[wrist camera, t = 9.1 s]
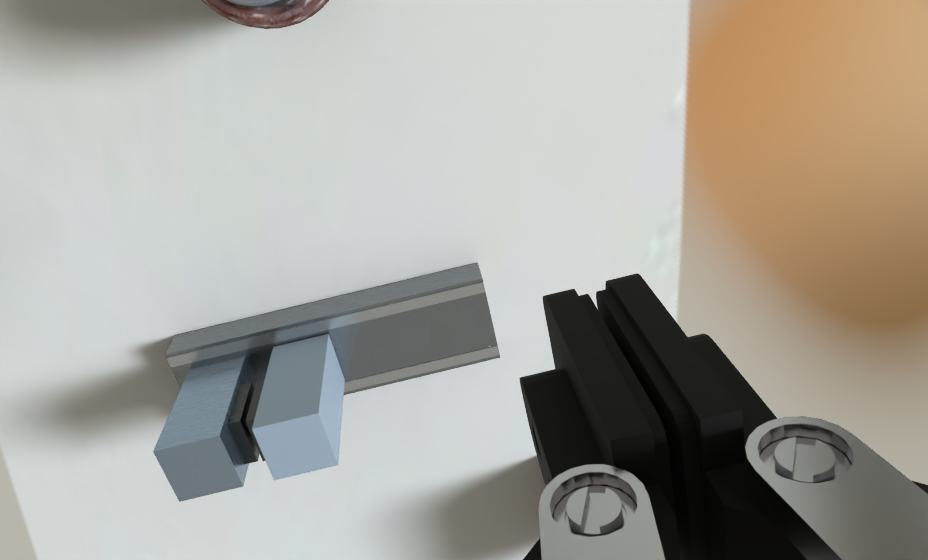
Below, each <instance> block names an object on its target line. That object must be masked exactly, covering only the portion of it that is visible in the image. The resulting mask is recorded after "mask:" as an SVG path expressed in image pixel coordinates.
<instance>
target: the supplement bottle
mask: <svg viewBox="0 0 928 560" xmlns="http://www.w3.org/2000/svg"><path fill="white" fill-rule="evenodd" d="M202 1H203V2H204V3H205V4H207V5H208V6H209V7H211V8H212V9H213V10H214V11H216V12H217V13H219V14H221V15H222V16H224V17H226V18H228V19H230V20H232V21H234V22H236V23H238V24H242V25H246V26H249V27H256V28H264V29H269V28H272V29H273V28H282V27H287V26H291V25H294V24H297V23H300V22H302V21H304V20H306V19H308V18H309V17H311V16H313V15H314V14H315V13H317V12H318V11H319V10H320V9H321V8H323V7H324V5H325V4H326V3H327V2H328V1H329V0H202Z"/></svg>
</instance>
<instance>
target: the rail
mask: <svg viewBox="0 0 928 560" xmlns="http://www.w3.org/2000/svg"><path fill="white" fill-rule="evenodd" d="M325 334H329V336H330V339H331V342H332V345H333V347H334V350H335V353H336V356H337V359H338V362H339V365H340V368H341V370H342V373H343V376H344V379H345V383H344V395H346V394H350V393H354V392H358V391H362V390H367V389H371V388H375V387H379V386H383V385H387V384H392V383H396V382H400V381H404V380H408V379H412V378H417V377H421V376H425V375H429V374H433V373H437V372H442V371H446V370H450V369H454V368H458V367H462V366H467V365H471V364H475V363H479V362H483V361H487V360H491V359H496V358H500V355H499V350H498V346H497V341H496V337H495V333H494V328H493V324H492V319H491V315H490V310H489V306H488V302H487V297H486V293H485V288H484V284H483V280H482V276H481V273H480V269H479V266H478V263H474V264H470V265H466V266H462V267H458V268H453V269H449V270H445V271H441V272H437V273H433V274H428V275H424V276H420V277H416V278H412V279H408V280H403V281H399V282H395V283H391V284H387V285H383V286H378V287H374V288H370V289H366V290H362V291H358V292H353V293H349V294H345V295H341V296H337V297H333V298H328V299H324V300H320V301H316V302H312V303H308V304H304V305H299V306H295V307H291V308H287V309H283V310H279V311H274V312H270V313H266V314H262V315H258V316H254V317H249V318H245V319H241V320H237V321H233V322H229V323H224V324H220V325H216V326H212V327H208V328H204V329H199V330H195V331H191V332H187V333H183V334H179V335H175V336H174V338H173V340H172V342H171V344H170V346H169V348H168V350H167V352H166V354H165V356H166V359H167V361H168V363H169V365H170V367H171V368H172V370H173V373H174V375H175V377H176V379H177V381H178V383H179V385H180V387H181V389H180V392H179V394H178V396H177V399H176V401H175V403H174V405H173V408H172V410H171V412H170V414H169V417H168V419H167V421H166V424H165V426H164V428H163V430H162V433H161V435H160V437H159V439H158V442H157V444H156V446H155V449H154V451H153V452H154V454H155V456H156V458H157V460H158V462H159V464H160V465H161V467H162V469H163V471H164V473H165V475H166V477H167V479H168V481H169V483H170V485H171V486H172V488H173V490H174V492H175V494H176V496H177V498H178V500H179V502H180V501H184V500H188V499H193V498H197V497H201V496H205V495H209V494H213V493H217V492H222V491H226V490H230V489H234V488H238V487H242V486H243V485H244V481H245V477H246V473H247V469H248V465H249V463H252V462H256V461H258V458H259V451H258V448H257V446H256V444H255V442H254V439H253V437H252V435H251V432H250V430H249V428H248V426H247V423H246V417H247V414H248V410H249V407H250V403H251V399H252V396H253V392H254V389H255V385H256V382H258V381H262V380H265V377H266V373H267V369H268V365H269V361H270V357H271V354H272V350H273V347H275V346H279V345H284V344H288V343H292V342H296V341H300V340H304V339H308V338H313V337H317V336H321V335H325Z"/></svg>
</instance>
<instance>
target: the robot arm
mask: <svg viewBox="0 0 928 560" xmlns="http://www.w3.org/2000/svg"><path fill="white" fill-rule="evenodd" d="M596 299H597V306H598V310H597V308H596V306H595V305H594V303H593V301H592V299H591V298H590V296H589V295H588V294H585V295H581V296H578V294H577V293H576V291H575V289H571V290H567V291H563V292H558V293H554V294H550V295H546V296H543V304H544V310H545V315H546V320H547V326H548V331H549V337H550V342H551V347H552V353H553V358H554V363H555V369H554V370H550V371H546V372H542V373H538V374H534V375H530V376H525V377H521V378H520V384H521V389H522V394H523V399H524V403H525V408H526V413H527V417H528V422H529V426H530V430H531V434H532V438H533V442H534V446H535V450H536V453H537V457H538V460H539V464H540V467H541V471H542V474H543V477H544V481H545V484H546V487H545V489H544V491H543V493H542V494H541V496H540V501H539V508H538V513H539V527H540V539H539V540H538V541H537V543H536V544H535V545H534V546H533V548H532V549H531V550H530V552H529V553H528V554H527V555H526V557H525V558H524V559H523V560H928V485H925V484H921V483H918V482H914V481H911V480H910V479H908V478H907V477H906V476H905V475H903V474H902V473H901V472H900V471H898V470H897V469H896V468H895V467H893V466H892V465H891V464H890V463H888V462H887V461H886V460H885V459H883V458H882V457H881V456H880V455H878V454H877V453H876V452H875V451H873V450H872V449H871V448H870V447H868V446H867V445H866V444H865V443H863V442H862V441H861V440H860V439H858V438H857V437H856V436H855V435H853V434H852V433H850V432H849V431H847V430H845V429H844V428H842V427H840V426H839V425H836V424H834V423H831V422H828V421H825V420H822V419H817V418H811V417H804V416H799V417H783V418H779V419H777V418H776V416H775V415H774V414H773V413H772V411H771V410H770V409H769V408H768V407H767V406H766V404H765V403H764V402H763V401H762V399H761V398H760V397H759V396H758V395H757V393H756V392H755V391H754V390H753V388H752V387H751V386H750V385H749V383H748V382H747V381H746V380H745V379H744V377H743V376H742V375H741V374H740V373H739V371H738V370H737V369H736V368H735V366H734V365H733V364H732V363H731V362H730V360H729V359H728V358H727V357H726V355H725V354H724V353H723V352H722V351H721V349H720V348H719V347H718V346H717V345H716V343H715V342H714V341H713V340H712V339H711V338H710V337H709V336H708V335H706V334H700V335H696V336H692V337H687V336H686V335H685V333H684V332H683V331H682V330H681V328H680V327H679V325H678V324H677V323H676V321H675V320H674V319H673V317H672V316H671V315H670V314H669V312H668V311H667V310H666V308H665V307H664V306H663V304H662V303H661V302H660V300H659V299H658V298H657V297H656V295H655V294H654V293H653V291H652V290H651V289H650V287H649V286H648V285H647V283H646V282H645V281H644V280H643V278H642V277H641V276H640V275H639V274H633V275H629V276H625V277H621V278H617V279H612V280H608V281H606V290H602V291H598V292H597V293H596Z"/></svg>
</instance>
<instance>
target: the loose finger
mask: <svg viewBox="0 0 928 560" xmlns="http://www.w3.org/2000/svg"><path fill="white" fill-rule="evenodd" d="M344 383H345V379H344V376H343V373H342V370H341V368H340V365H339V362H338V359H337V356H336V353H335V350H334V347H333V345H332V342H331V339H330V336H329V334H325V335H321V336H317V337H313V338H308V339H304V340H300V341H296V342H292V343H288V344H284V345H279V346H275V347H273V350H272V354H271V357H270V361H269V365H268V369H267V373H266V377H265V380H262V381H258V382H256V385H255V389H254V392H253V396H252V399H251V403H250V407H249V410H248V414H247V417H246V423H247V426H248V428H249V430H250V432H251V435H252V437H253V439H254V442H255V444H256V446H257V448H258V451H259V453H260V455H261V458H262V460H263V461H266V463H267V465H268V467H269V470H270V472H271V474H272V476H273V479H274V480H277V479H282V478H286V477H290V476H294V475H298V474H302V473H307V472H311V471H315V470H319V469H323V468H327V467H332V466H336V465H338V459H339V446H340V434H341V421H342V409H343V396H344Z"/></svg>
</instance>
